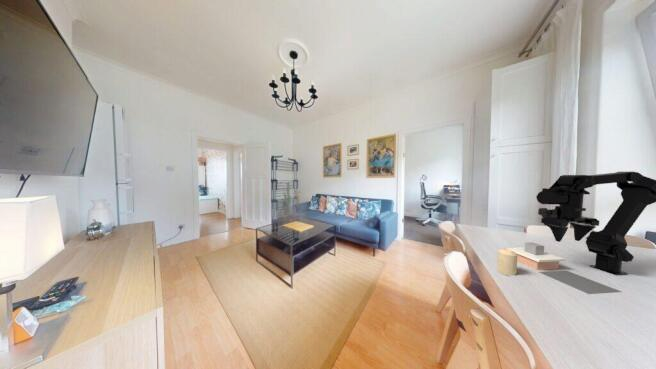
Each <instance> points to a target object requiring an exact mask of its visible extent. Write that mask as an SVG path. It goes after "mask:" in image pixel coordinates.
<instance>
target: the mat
mask: <svg viewBox="0 0 656 369" xmlns="http://www.w3.org/2000/svg"><path fill="white" fill-rule="evenodd" d="M538 273H540V274H541V275H544V276H545V277H548V278H551V279H553V280H555V281H558V282H560V283H562V284H565V285H566V286H569V287H572V288H574V289H577V290H578V291H581V292H584V293H585V294H588V295H596V294H598V295H599V294H612V293H622V292H623V291H622V290H619V289H616V288H613V287H611V286H608V285H606V284H603V283H601V282H598V281H595V280H594V279H593V280H592V279H590V278H587V277H584V276H583V275H582V276H581V275H579V274H577V273H574V272H571V271H570V270H550V271H538Z"/></svg>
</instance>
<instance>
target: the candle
mask: <svg viewBox="0 0 656 369" xmlns="http://www.w3.org/2000/svg"><path fill="white" fill-rule="evenodd" d="M508 248H509V247H503V248H500V249H498V250H497V263H496V265H497V266H496V270H497V272H498V273H500V274H501V275H504V276H507V277H510V276H516V275H517V271H518V270H517V268H518V262H517V256H518V255H517V254H516V253H515V252H513V251H512V250H510V249H508Z"/></svg>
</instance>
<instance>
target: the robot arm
mask: <svg viewBox="0 0 656 369" xmlns="http://www.w3.org/2000/svg"><path fill="white" fill-rule="evenodd" d="M614 183H615V184H616V187H617V188H618V189H620V190H621V192H620V196H621V197H622V202H621V203H620V204H619V206H618V208H616V210H615V212H614V213H613V214H612V216H611V217H610V219H609V221H607V223H606V224H605V226H604V227H603V229H601V230H599V231H595V230H594V229H595V228H597V226H598V227H599V226H600V221H599V219H597V218H594V217H588V216H583V212H584V211H585V212H586V211H587V208H586V207H583V206H584V195H591V192H589V191H587V190H586V189H588V188H592V187H593V186H596V185H604V184H605V185H606V184H614ZM536 200H537V202H538V203H539V204H541V205H555V206H554V209H548V208H547V207H541V208H540V207H539V208H538V211H537V212H538V213H537V214H538V215H539V216H541V219H540V223H541V224H543V225H544V226H547V227H548V228H549V229H550V230H551V233H552V235H553V237H554V240H555V242H558V243H559V242H561V241H563V238H564V236H565V235H566V233H567V231H568V229H569V227H568V226H569V224H570V225H571V226H572V227H573V236H574V241H578V242H581V240H582V239H583V238H584V237H585V244H586V247H587V251H588V252H590V253H593V254H595V263H594V265H593V264H592V265H591V264H590V265H588V266H589V267H591V268H593V269H596V270H598V271H601V272H606V273H608V274H611V275H614V276H619V275H620V276H621V275H623V276H624V275H628V272H626V271H622V267H623V265H622V264H623V263H624V262H625V263H628V262H632V261H633V259H634V258H635V257H634V255H633V254H632V253H630V251H628V250H627V247H628V242H627V240H626V238H625V236H626V235H627V234H628V233H629V231H630V230H631V228H632V227H633V226H634V225H635V223H636V221H637V220H638V219H639V217H640V215H641V214H642V213H643V211H645V209H646V207H647V206H649V205H652V204H655V203H656V179H654V178H651V177H648V176H645V175H642V174H641V173H640V172H638V171H637V172H636V171H616V172H609V173H600V174H589V175H588V174H562V175H560V176H559V177H558V178H557V180H555V182H554V183H552V185H551V186H550V187H548V188H547V187H544V188H542V190H541V191H539V192H538V193H537V194H536ZM587 234H588V236H587V237H586V235H587Z"/></svg>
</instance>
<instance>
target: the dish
mask: <svg viewBox="0 0 656 369" xmlns="http://www.w3.org/2000/svg"><path fill="white" fill-rule="evenodd" d="M516 254H517V253H516ZM517 255H518V256H517V263H520V264H522V265H525V266H527V267H528V268H529V267H530V268H531V269H533V270H536V271H543V270H546V271H547V270H559V268H560V267H559V266H560V261H553V262H537V261H535V260H532V259H530V258H527V257H524V256H522V255H519V254H517Z"/></svg>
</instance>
